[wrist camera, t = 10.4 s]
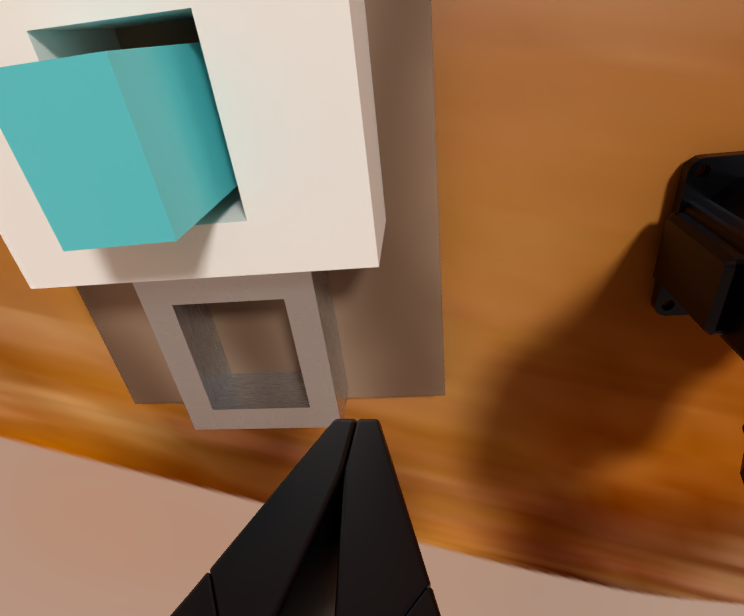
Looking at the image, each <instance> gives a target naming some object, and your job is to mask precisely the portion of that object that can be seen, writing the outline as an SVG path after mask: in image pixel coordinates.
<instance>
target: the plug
mask: <svg viewBox="0 0 744 616" xmlns="http://www.w3.org/2000/svg"><path fill="white" fill-rule="evenodd" d="M0 129H1V131H2V133H3V135H4V136H5V138H6V140H7V142H8V144H9V146H10V148H11V150H12V152H13V154H14V156H15V158H16V160H17V162H18V164H19V166H20V168H21V169H22V171H23V173H24V175H25V177H26V179H27V181H28V183H29V185H30V187H31V189H32V191H33V193H34V195H35V197H36V199H37V201H38V203H39V204H40V206H41V208H42V210H43V212H44V214H45V216H46V218H47V220H48V222H49V224H50V226H51V228H52V230H53V232H54V234H55V236H56V237H57V239H58V241H59V243H60V245H61V247H62V249H63V251H75V250H85V249H96V248H107V247H118V246H129V245H140V244H151V243H162V242H173V241H177V240H179V239H180V238H181V237H182V236H183V235H184V234H185V233H186V232H187V231H188V230H189V229H191V228H192V227H193V226H194V225H195V224H196V223H197V222H198V221H199V220H200V219H201V218H203V217H204V216H205V215H206V214H207V213H208V212H209V211H210V210H211V209H212V208H214V207H215V206H216V205H217V204H218V203H219V202H220V201H221V200H222V199H223V198H224V197H226V196H227V195H228V194H229V193H230V192H231V191H232V190H233V189H234V188H235V187H237V186H238V185H237V181H236V177H235V173H234V169H233V166H232V162H231V158H230V154H229V150H228V147H227V143H226V139H225V135H224V131H223V128H222V124H221V120H220V116H219V112H218V109H217V105H216V101H215V97H214V93H213V89H212V86H211V82H210V78H209V74H208V70H207V67H206V63H205V59H204V55H203V51H202V48H201V44H200V42H198V43H187V44H176V45H165V46H154V47H143V48H132V49H121V50H110V51H102V52H95V53H89V54H83V55H76V56H70V57H63V58H57V59H50V60H44V61H37V62H31V63H24V64H18V65H11V66H5V67H0Z"/></svg>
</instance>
